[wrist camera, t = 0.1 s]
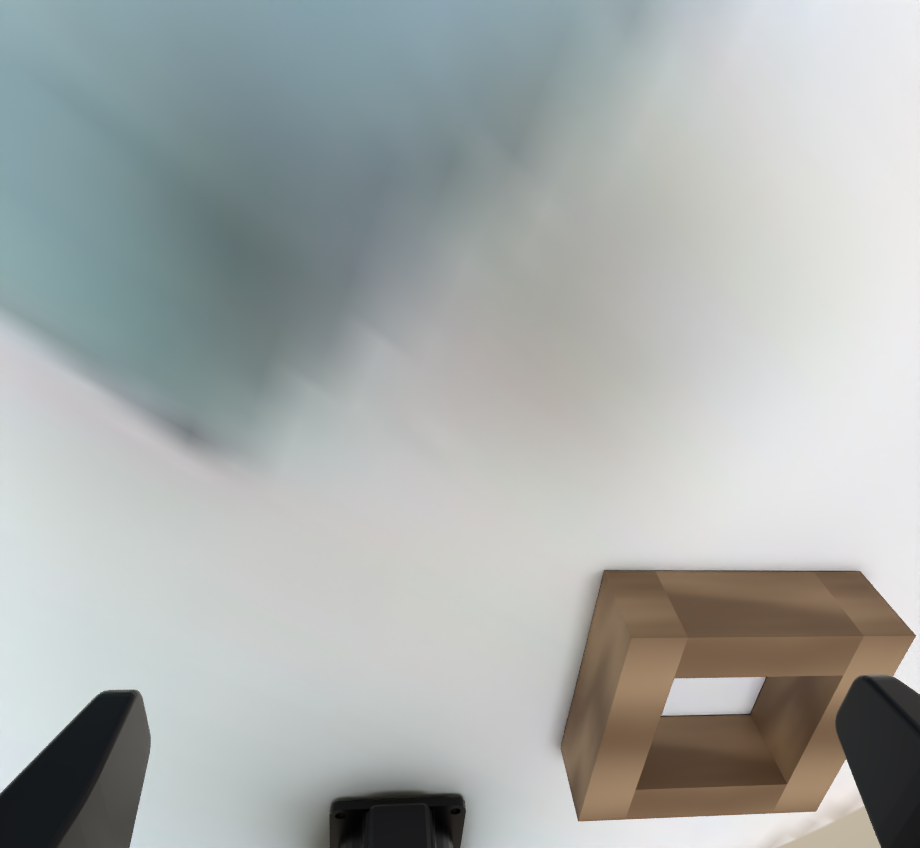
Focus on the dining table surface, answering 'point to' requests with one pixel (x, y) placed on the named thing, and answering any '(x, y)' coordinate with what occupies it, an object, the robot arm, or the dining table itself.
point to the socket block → (713, 656)
